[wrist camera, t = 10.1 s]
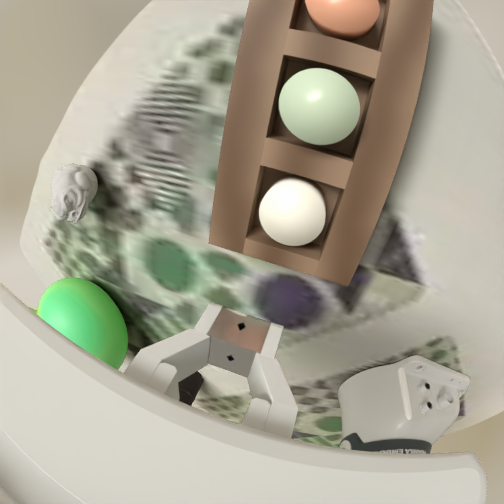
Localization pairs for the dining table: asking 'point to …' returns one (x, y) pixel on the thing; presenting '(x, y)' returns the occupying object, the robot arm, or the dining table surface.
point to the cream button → (293, 210)
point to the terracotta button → (343, 17)
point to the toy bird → (86, 318)
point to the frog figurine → (72, 191)
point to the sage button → (319, 106)
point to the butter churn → (189, 388)
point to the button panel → (311, 155)
